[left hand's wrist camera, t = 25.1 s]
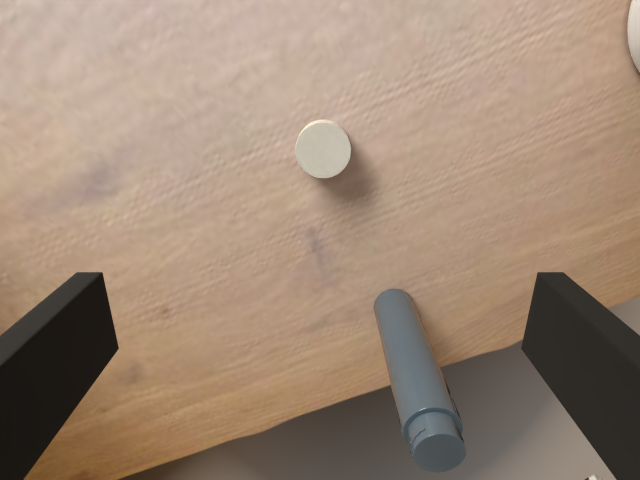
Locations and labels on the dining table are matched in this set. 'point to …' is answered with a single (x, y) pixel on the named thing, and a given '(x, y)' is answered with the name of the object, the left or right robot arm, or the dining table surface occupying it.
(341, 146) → the lid
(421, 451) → the bottle
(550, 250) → the dining table surface
